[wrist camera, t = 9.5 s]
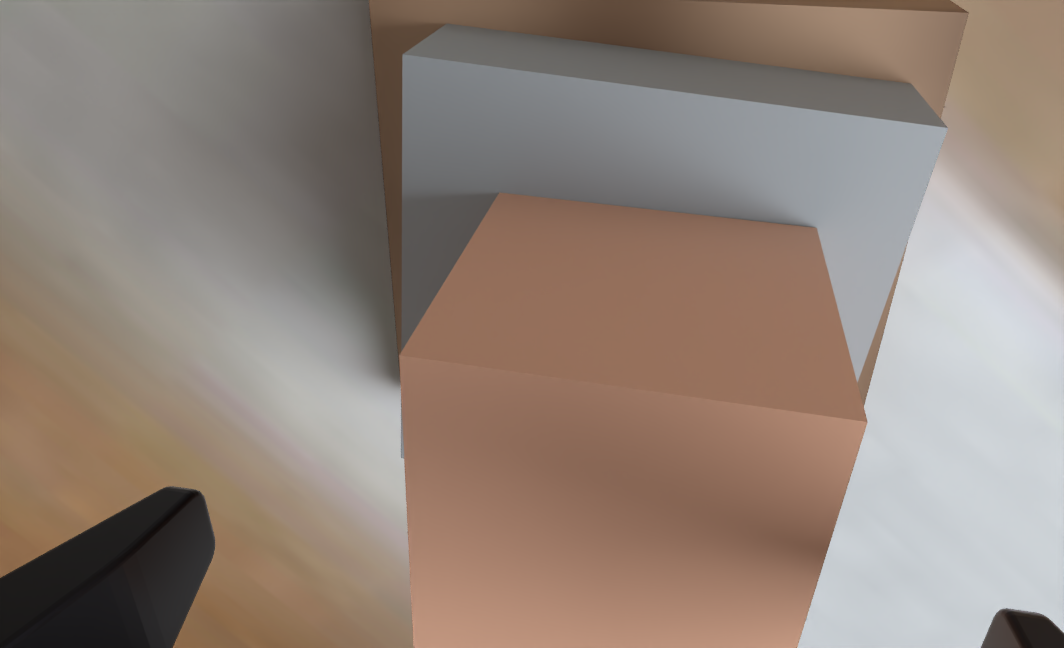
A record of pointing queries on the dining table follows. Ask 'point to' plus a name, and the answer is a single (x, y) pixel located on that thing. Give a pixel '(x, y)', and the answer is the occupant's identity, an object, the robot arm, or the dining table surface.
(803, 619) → the terracotta cube
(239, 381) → the dining table surface
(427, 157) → the top block
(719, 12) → the bottom block
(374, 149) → the dining table surface
